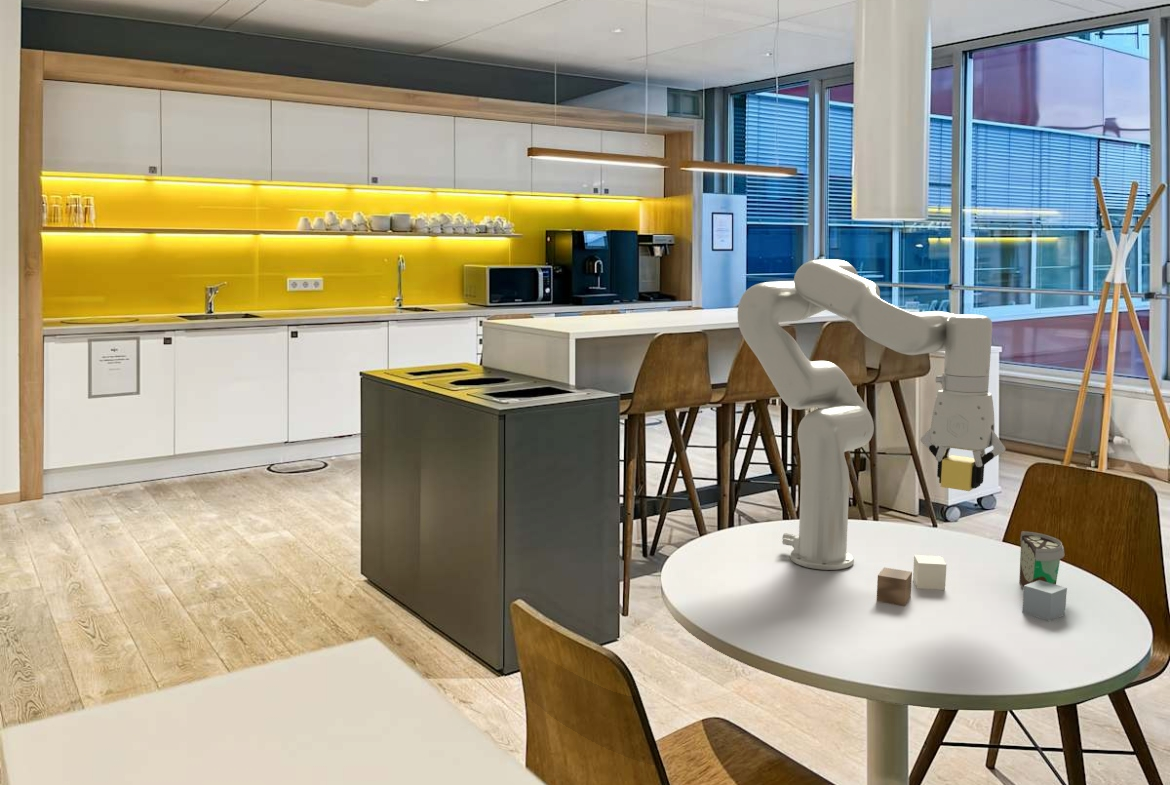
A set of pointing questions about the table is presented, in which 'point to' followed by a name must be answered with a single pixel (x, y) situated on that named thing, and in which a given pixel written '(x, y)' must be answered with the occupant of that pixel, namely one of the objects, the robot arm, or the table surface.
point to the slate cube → (1044, 600)
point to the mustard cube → (957, 472)
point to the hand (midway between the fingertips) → (959, 483)
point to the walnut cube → (894, 586)
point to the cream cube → (929, 572)
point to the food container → (1039, 558)
